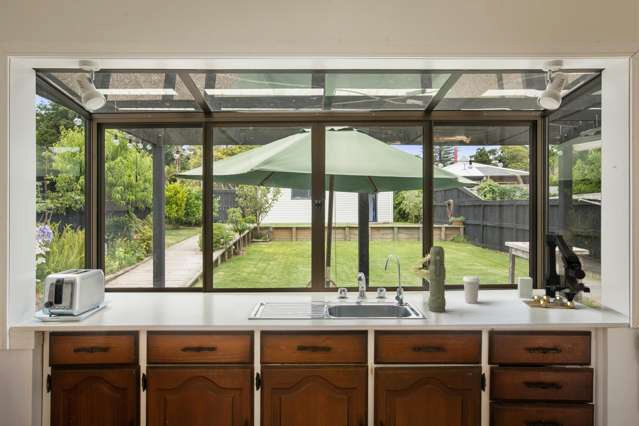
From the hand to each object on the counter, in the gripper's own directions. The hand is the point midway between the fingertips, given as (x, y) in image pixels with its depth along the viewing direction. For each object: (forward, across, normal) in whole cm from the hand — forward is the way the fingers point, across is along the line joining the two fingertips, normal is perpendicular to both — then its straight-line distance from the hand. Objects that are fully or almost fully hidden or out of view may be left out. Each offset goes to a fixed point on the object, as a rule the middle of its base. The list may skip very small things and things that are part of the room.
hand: (569, 303), depth 228 cm
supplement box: (+2, -18, +19) cm, 26 cm away
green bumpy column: (+2, -75, -22) cm, 78 cm away
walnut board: (+2, -11, 0) cm, 11 cm away
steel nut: (+1, -6, 0) cm, 6 cm away
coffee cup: (+2, -53, +1) cm, 53 cm away
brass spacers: (+1, -9, 0) cm, 9 cm away
